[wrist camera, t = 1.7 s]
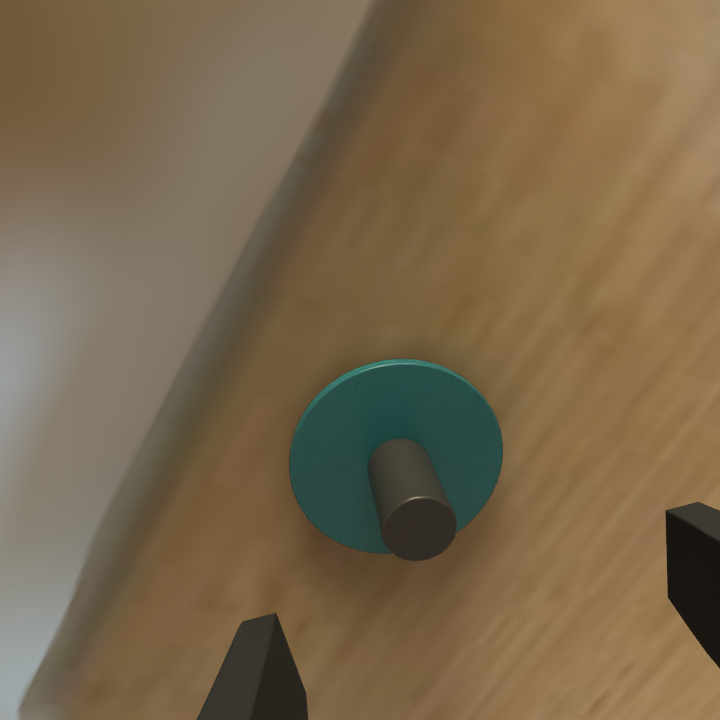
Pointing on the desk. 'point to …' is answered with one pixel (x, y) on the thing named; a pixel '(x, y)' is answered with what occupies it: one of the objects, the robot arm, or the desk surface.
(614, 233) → the desk surface
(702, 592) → the robot arm
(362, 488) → the tin lid
